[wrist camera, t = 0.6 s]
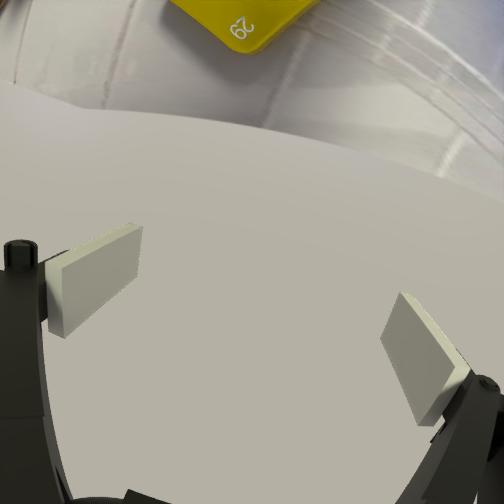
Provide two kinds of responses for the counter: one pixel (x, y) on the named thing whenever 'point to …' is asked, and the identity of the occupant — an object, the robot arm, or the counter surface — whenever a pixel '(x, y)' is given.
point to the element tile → (246, 20)
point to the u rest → (2, 3)
